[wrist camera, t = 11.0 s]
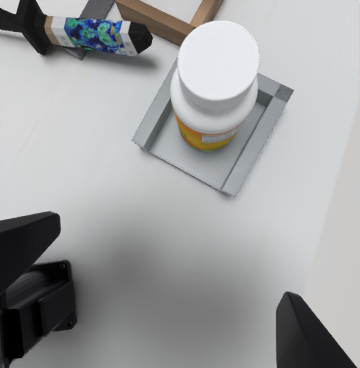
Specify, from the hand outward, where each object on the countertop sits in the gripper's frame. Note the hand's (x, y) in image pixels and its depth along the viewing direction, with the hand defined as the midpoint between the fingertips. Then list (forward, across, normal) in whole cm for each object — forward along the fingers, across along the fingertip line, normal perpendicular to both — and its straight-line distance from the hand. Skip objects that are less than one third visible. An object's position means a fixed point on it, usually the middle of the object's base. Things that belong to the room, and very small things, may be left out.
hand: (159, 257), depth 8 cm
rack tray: (+15, +1, -3) cm, 16 cm away
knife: (+15, +23, -8) cm, 29 cm away
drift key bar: (+17, +16, -11) cm, 26 cm away
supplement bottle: (+14, +1, -3) cm, 15 cm away
